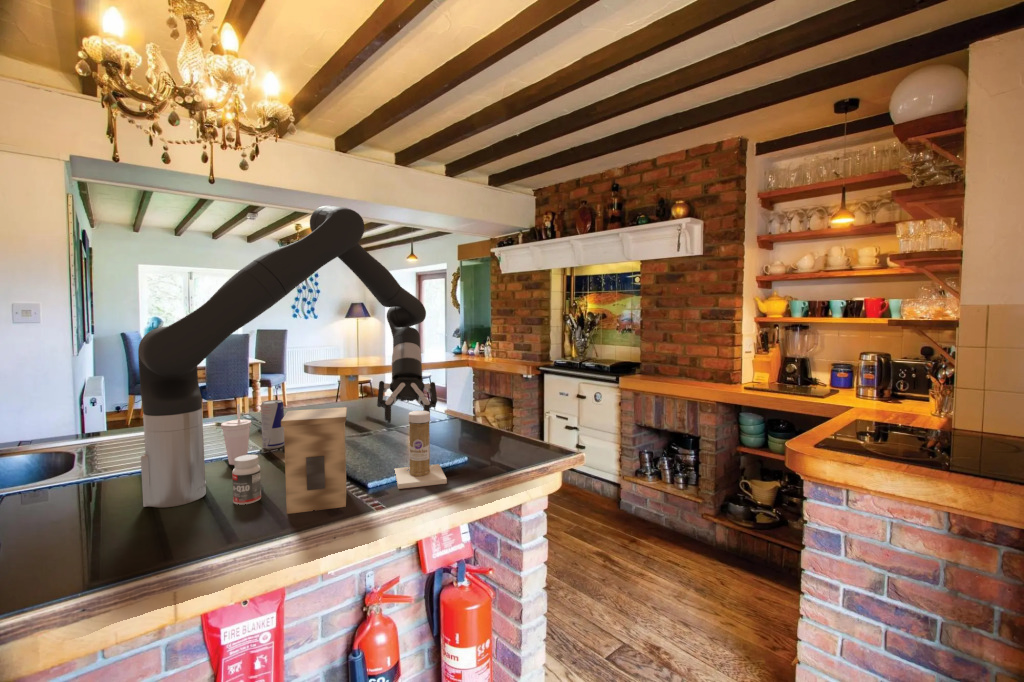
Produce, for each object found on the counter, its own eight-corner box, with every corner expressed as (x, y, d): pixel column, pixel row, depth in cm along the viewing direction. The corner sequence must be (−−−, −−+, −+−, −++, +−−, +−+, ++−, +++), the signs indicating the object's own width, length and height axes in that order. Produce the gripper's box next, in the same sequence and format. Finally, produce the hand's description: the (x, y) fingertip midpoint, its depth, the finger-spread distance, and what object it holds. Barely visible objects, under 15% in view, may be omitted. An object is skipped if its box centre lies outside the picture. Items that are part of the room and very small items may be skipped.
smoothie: (251, 464, 113) (249, 405, 112) (219, 468, 111) (217, 408, 110) (254, 456, 119) (252, 401, 118) (224, 459, 117) (222, 402, 116)
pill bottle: (227, 504, 90) (225, 460, 90) (244, 494, 95) (243, 453, 94) (250, 506, 90) (248, 462, 89) (266, 496, 94) (265, 454, 94)
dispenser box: (284, 515, 86) (280, 421, 84) (290, 496, 94) (287, 410, 93) (348, 507, 89) (345, 416, 88) (348, 490, 97) (346, 407, 96)
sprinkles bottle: (410, 477, 102) (409, 415, 101) (408, 470, 106) (407, 410, 105) (431, 475, 103) (431, 413, 102) (429, 468, 107) (428, 409, 106)
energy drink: (289, 445, 129) (287, 401, 128) (270, 450, 124) (268, 404, 123) (277, 442, 132) (275, 399, 131) (258, 447, 127) (256, 402, 126)
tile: (398, 488, 98) (398, 484, 98) (394, 472, 108) (394, 468, 107) (446, 483, 101) (446, 478, 101) (439, 468, 111) (438, 464, 111)
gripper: (379, 355, 119) (377, 414, 110) (436, 357, 123) (439, 414, 114) (377, 371, 125) (376, 428, 116) (432, 372, 129) (435, 428, 120)
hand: (407, 421), depth 115 cm, fingers open, 8 cm apart
